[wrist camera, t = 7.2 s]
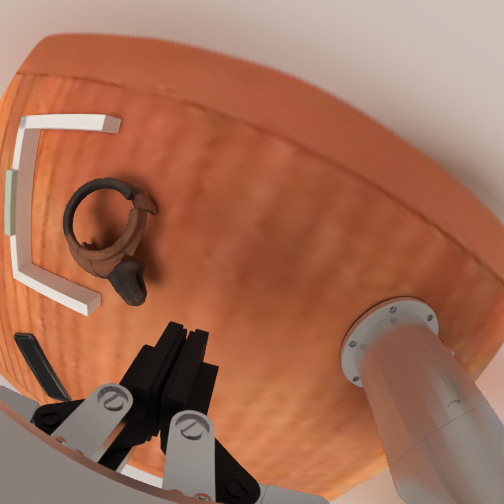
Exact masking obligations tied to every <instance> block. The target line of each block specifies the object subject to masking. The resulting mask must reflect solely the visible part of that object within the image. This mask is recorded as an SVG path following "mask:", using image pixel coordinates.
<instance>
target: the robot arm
mask: <svg viewBox="0 0 504 504" xmlns="http://www.w3.org/2000/svg"><path fill="white" fill-rule="evenodd" d="M438 330H439V327H438V320H437V317H436V314H435V313H434V311H433V310H432V309H431V308H430V307H429V306H428V305H427V304H426V303H425V302H423V301H421V300H419V299H416V298H412V297H399V298H394V299H390V300H388V301H385V302H382V303H380V304H379V305H377V306H375V307H373V308H371V309H370V310H369V311H367V312H366V313H365V314H363V315H362V316H361V317H360V318H359V319H358V320H357V321H356V322H355V323H354V325H353V326H352V327H351V329H350V330H349V331H348V333H347V335H346V337H345V339H344V341H343V344H342V347H341V352H340V362H341V367H342V370H343V373H344V374H345V376H346V378H347V379H348V380H349V381H350V382H351V383H353V384H354V385H356V386H358V387H362V388H364V391H365V394H366V397H367V399H368V402H369V405H370V408H371V411H372V414H373V417H374V420H375V423H376V426H377V429H378V433H379V436H380V439H381V442H382V445H383V449H384V452H385V455H386V459H387V462H388V466H389V469H390V473H391V476H392V479H393V483H394V486H395V488H396V491H397V493H398V495H399V496H400V498H401V499H402V500H403V501H404V502H405V503H407V504H504V426H503V424H502V422H501V421H500V419H499V418H498V416H497V415H496V413H495V412H494V410H493V409H492V407H491V406H490V404H489V403H488V401H487V400H486V399H485V397H484V396H483V394H482V393H481V391H480V390H479V389H478V387H477V386H476V385H475V383H474V382H473V381H472V379H471V378H470V377H469V375H468V374H467V373H466V371H465V370H464V369H463V367H462V366H461V365H460V364H459V362H458V361H457V360H456V358H455V357H454V350H452V349H447V347H446V346H445V345H444V344H443V342H442V341H441V340H440V339H439V338H438ZM186 335H187V329H183V325H182V324H178V323H175V322H172V321H170V323H169V324H168V326H167V327H166V329H165V331H164V332H163V334H162V336H161V337H160V339H159V341H158V342H157V344H156V345H155V347H152V346H149V345H144V346H143V347H142V349H141V350H140V352H139V353H138V355H137V357H136V358H135V360H134V361H133V363H132V364H131V366H130V367H129V369H128V371H127V372H126V374H125V375H124V377H123V378H122V380H121V382H120V383H119V385H118V384H113V383H108V384H103V385H100V386H99V387H98V388H96V389H95V390H94V391H93V392H92V393H91V394H90V395H89V396H88V397H87V398H86V399H82V400H75V401H69V402H62V403H54V404H47V405H43V406H42V405H39V403H38V402H37V401H35V400H32V399H30V398H28V397H25V396H23V395H21V394H19V393H17V392H14V391H12V390H10V389H8V388H6V387H4V386H0V504H329V502H328V501H327V500H326V499H325V498H323V497H320V496H317V495H312V494H307V493H302V492H297V491H293V490H289V489H285V488H281V487H277V486H274V485H270V484H269V485H268V486H267V485H263V484H260V483H257V481H256V480H255V479H254V478H253V477H252V476H251V475H250V474H249V473H248V472H247V471H246V470H245V469H244V468H243V467H242V466H241V465H240V464H239V463H238V462H237V461H236V460H235V459H234V458H233V457H232V456H231V455H230V454H229V452H228V451H227V450H226V449H225V448H224V447H223V446H222V445H221V444H220V443H219V441H218V440H217V439H216V438H215V429H214V424H213V423H212V421H211V420H210V419H209V418H208V417H207V412H208V408H209V404H210V400H211V396H212V392H213V388H214V384H215V380H216V376H217V372H218V368H219V366H216V365H212V364H208V363H204V362H203V360H204V355H205V350H206V345H207V340H208V336H209V332H206V331H202V330H199V329H196V330H195V332H193V331H190V333H189V335H188V337H187V339H186ZM159 431H160V438H161V450H162V451H163V453H164V454H165V456H166V459H165V467H164V475H163V485H162V489H161V488H158V487H155V486H152V485H149V484H146V483H143V482H141V481H138V480H135V479H133V478H130V477H127V476H125V475H122V474H120V472H121V471H122V469H123V468H124V466H125V465H126V463H127V462H128V461H129V459H130V458H131V456H132V455H133V453H134V452H135V450H136V448H137V446H138V445H140V444H143V443H145V441H146V440H147V441H149V442H150V440H151V438H152V436H155V437H157V436H158V433H159Z"/></svg>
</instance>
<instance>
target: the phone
mask: <svg viewBox="0 0 504 504" xmlns="http://www.w3.org/2000/svg"><path fill="white" fill-rule="evenodd" d="M14 339H15V341H16V343H17V345H18V347H19V349H20V351H21V353H22V355H23V357H24V358H25V360H26V362H27V364H28V365H29V367H30V369H31V371H32V372H33V374H34V376H35V377H36V379H37V380H38V382H39V384H40V385H41V387H42V388H43V390H44V391H45V393H46V394H47V395H48V396H49V397H50V398H53V399H57V400H60V401H64V402H69V401H71V397H70V396H69V394H68V393H67V391H66V390H65V388H64V387H63V385H62V384H61V382H60V380H59V379H58V377H57V375H56V374H55V372H54V370H53V369H52V367H51V365H50V364H49V362H48V360H47V358H46V356H45V355H44V353H43V351H42V349H41V347H40V345H39V343H38V341H37V339H36V338H35V336H34V335H33V334H28V333H15V334H14Z"/></svg>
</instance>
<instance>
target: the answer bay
mask: <svg viewBox="0 0 504 504" xmlns="http://www.w3.org/2000/svg"><path fill="white" fill-rule="evenodd" d="M120 123H121V119H119V118H115V117H112V116H108V115H98V114H53V115H34V116H21V120H20V124H19V129H18V135H17V140H16V146H15V153H14V160H13V169H10V170H7V173H6V186H5V234H6V235H8V236H10V242H11V257H12V268H13V276H14V278H15V279H17V280H18V281H20V282H22V283H23V284H25V285H27V286H29V287H30V288H32V289H34V290H36V291H38V292H39V293H41V294H43V295H45V296H47V297H49V298H51V299H53V300H55V301H57V302H59V303H61V304H63V305H65V306H67V307H69V308H71V309H73V310H75V311H77V312H79V313H82V314H84V315H86V316H89V315H90V314H91V313H92V312H93V311H94V310H96V309H97V308H98V307H99V306H100V305H101V294H100V293H97V292H95V291H92V290H90V289H87V288H85V287H82V286H80V285H78V284H75V283H73V282H71V281H68V280H66V279H64V278H61V277H59V276H57V275H55V274H53V273H50V272H48V271H46V270H44V269H42V268H40V267H38V266H36V265H34V264H32V250H31V207H32V190H33V179H34V170H35V162H36V155H37V148H38V143H39V137H40V132H41V129H53V130H80V131H96V132H108V133H118V132H119V128H120Z"/></svg>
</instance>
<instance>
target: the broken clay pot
mask: <svg viewBox="0 0 504 504" xmlns="http://www.w3.org/2000/svg"><path fill="white" fill-rule="evenodd" d="M105 188H107V189H114V190H116V191H118V192H120V193H121V194H122V195H124V197H125V198H126V199H127V200H132V203H133V205H134V209H131V210H130V213H129V220H128V224H127V227H126V229H125V231H124V233H123V234H122V236H121V237H120V238H119V239H118V240H117V241H116V242H115V243H114V244H113V245H112V246H110V247H108V248H105V249H102V250H95V246H94V244H87V243H86V242H83V243H82V245H80V244H79V242H78V241H77V239H76V237H75V235H74V233H73V217H74V213H75V211H76V208H77V207H78V205H79V204H80V202H81V201H82V200H83V199H84V198H85V197H86V196H87V195H89V194H90V193H92V192H94V191H96V190H99V189H105ZM147 212H150V213H151V214H152V215H155V214H157V211H156V208H155V206H154V204H153V202H152V201H151V200H150V198H149V197H148V196H146V195H145V194H144V192H143V190H141V189H140V188H138V187H136V186H134V185H132V184H130V183H127V182H124V181H119V180H117V179H114V178H104V179H102V178H99V179H95V180H92V181H90V182H87V183H86V184H84V185H83V186H81V187H80V188H79V189H78V190H77V191H76V192H75V193H74V194H73V196H72V197H71V199H70V200H69V202H68V204H67V206H66V209H65V212H64V216H63V230H64V234H65V236H66V239H67V242H68V244H69V249H70V252H71V254H72V256H73V258H74V260H75V261H76V262H77V264H78V265H79V266H80V267H82V268H83V269H84V270H85V271H87V272H88V273H91V274H92V275H93V276H96V277H99V278H103V279H108V280H109V281H110V282H111V284H112V286H113V287H114V289H115V291H116V292H117V293H118V294H119V295H120V296H121V297H122V298H123V299H124V301H125V302H126V303H127V304H128V305H131V306H140V305H141V304H143V303H144V302H145V298H146V296H147V291H146V286H145V283H144V279H143V271H144V268H145V263H144V262H141V263H139V262H137V261H134V260H125V261H123V262H121V260H122V258H123V256H124V255H125V254H127V255H129V256H132V255H133V254H134V252H135V250H136V248H137V246H138V244H139V242H140V240H141V237H142V234H143V231H144V228H145V225H146V218H147Z"/></svg>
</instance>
